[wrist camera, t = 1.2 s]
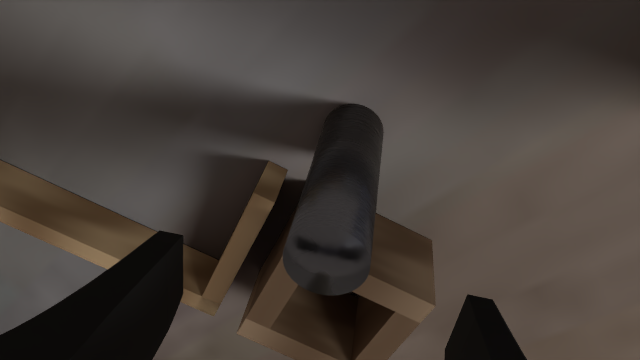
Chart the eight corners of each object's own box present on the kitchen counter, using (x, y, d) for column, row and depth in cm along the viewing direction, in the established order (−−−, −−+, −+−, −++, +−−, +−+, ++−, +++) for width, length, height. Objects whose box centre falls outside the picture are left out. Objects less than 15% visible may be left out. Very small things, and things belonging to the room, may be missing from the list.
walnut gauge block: (431, 240, 23) (435, 306, 20) (367, 320, 26) (360, 388, 23) (310, 181, 22) (292, 238, 19) (259, 270, 25) (236, 333, 22)
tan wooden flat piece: (323, 103, 20) (312, 132, 18) (229, 279, 26) (213, 316, 24) (-100, -112, 18) (-166, -108, 16) (-100, 129, 24) (-148, 155, 22)
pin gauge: (394, 121, 20) (386, 251, 14) (365, 167, 22) (345, 307, 15) (339, 93, 20) (304, 212, 13) (313, 141, 21) (269, 272, 15)
